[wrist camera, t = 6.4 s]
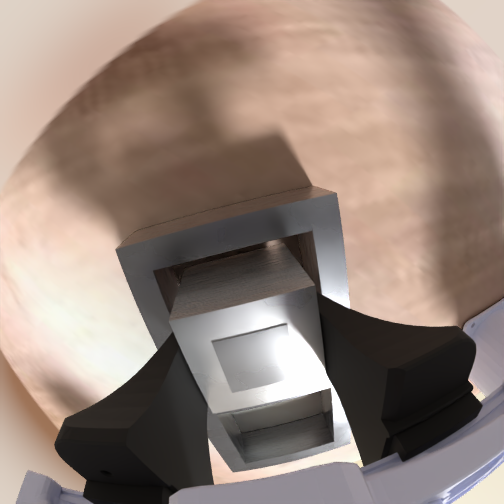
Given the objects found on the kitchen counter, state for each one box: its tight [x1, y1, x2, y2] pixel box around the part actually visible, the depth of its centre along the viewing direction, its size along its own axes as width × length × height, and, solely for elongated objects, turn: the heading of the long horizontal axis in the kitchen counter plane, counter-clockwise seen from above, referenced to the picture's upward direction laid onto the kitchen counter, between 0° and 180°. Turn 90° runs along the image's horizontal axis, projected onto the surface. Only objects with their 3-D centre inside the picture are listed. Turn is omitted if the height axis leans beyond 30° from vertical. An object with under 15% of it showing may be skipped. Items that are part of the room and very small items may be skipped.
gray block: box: [169, 243, 327, 414], centre depth 11 cm, size 4×4×5 cm
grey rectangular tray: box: [115, 186, 351, 472], centre depth 15 cm, size 9×18×3 cm, turn 13°
